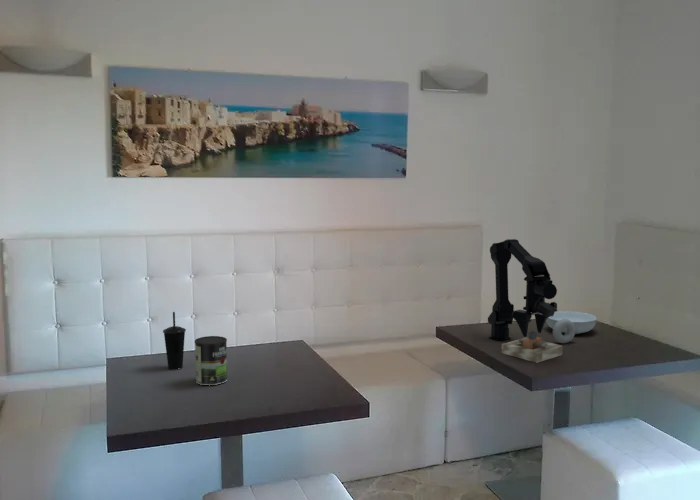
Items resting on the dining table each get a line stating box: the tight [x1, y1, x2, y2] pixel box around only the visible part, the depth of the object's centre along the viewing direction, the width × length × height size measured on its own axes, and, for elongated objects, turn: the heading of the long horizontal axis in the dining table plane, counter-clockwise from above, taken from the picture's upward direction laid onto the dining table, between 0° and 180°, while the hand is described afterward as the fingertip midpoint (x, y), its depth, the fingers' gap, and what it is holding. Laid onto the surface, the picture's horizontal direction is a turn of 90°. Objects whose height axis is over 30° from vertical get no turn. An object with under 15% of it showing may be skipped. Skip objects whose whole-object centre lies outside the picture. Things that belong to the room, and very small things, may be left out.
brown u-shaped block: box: [522, 330, 543, 349], centre depth 249 cm, size 3×8×7 cm, turn 130°
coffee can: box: [194, 335, 228, 387], centre depth 217 cm, size 10×10×14 cm
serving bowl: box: [545, 310, 598, 335], centre depth 284 cm, size 21×21×7 cm
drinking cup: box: [162, 311, 187, 370], centre depth 231 cm, size 8×8×20 cm
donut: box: [552, 319, 576, 344], centre depth 265 cm, size 10×4×10 cm, turn 108°
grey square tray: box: [500, 336, 564, 364], centre depth 250 cm, size 16×16×5 cm
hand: (532, 334), depth 249 cm, fingers open, 9 cm apart
